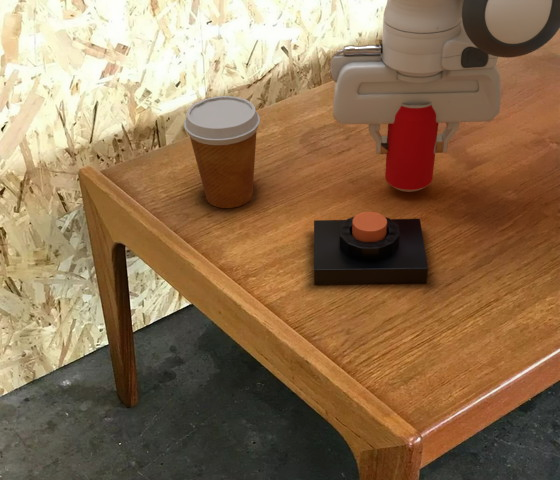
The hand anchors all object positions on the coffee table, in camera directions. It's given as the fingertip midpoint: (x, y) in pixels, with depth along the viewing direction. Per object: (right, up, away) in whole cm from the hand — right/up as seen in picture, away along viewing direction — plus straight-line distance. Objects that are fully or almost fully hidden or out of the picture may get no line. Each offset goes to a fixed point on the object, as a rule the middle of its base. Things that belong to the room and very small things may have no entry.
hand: (411, 151), depth 102 cm
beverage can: (0, -3, +3) cm, 5 cm away
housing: (-6, -15, -6) cm, 17 cm away
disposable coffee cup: (-24, -5, +5) cm, 25 cm away
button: (-6, -12, -9) cm, 16 cm away
